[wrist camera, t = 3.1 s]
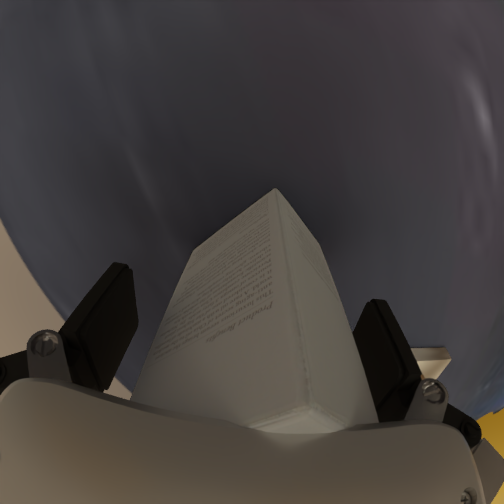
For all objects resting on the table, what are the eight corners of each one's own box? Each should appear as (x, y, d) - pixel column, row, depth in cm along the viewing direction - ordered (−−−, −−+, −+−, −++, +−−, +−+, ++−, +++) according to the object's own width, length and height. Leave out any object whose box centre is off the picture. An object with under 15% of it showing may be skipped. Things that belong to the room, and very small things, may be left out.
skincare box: (240, 297, 17) (214, 495, 7) (192, 248, 16) (104, 450, 5) (323, 243, 15) (391, 459, 5) (278, 183, 14) (307, 407, 3)
